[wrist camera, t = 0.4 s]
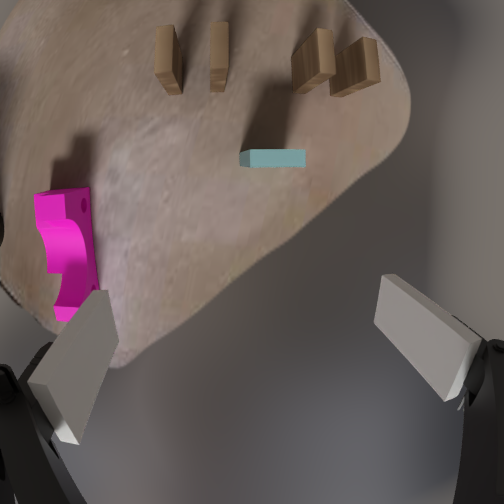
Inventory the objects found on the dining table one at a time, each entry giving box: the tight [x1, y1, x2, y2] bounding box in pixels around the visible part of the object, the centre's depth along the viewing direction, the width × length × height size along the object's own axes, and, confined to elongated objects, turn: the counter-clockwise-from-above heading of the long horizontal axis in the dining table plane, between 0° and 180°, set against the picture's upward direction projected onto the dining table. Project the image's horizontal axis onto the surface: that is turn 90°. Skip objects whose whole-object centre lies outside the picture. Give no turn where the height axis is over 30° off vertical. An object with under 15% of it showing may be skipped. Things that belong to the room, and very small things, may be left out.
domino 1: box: [154, 25, 183, 95], centre depth 26 cm, size 2×5×10 cm, turn 2°
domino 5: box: [329, 37, 381, 97], centre depth 28 cm, size 2×5×10 cm, turn 1°
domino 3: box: [240, 149, 306, 168], centre depth 30 cm, size 2×5×10 cm, turn 91°
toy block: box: [34, 187, 99, 322], centre depth 31 cm, size 15×6×8 cm, turn 178°
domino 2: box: [210, 22, 229, 92], centre depth 26 cm, size 2×5×10 cm, turn 1°
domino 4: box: [291, 28, 336, 94], centre depth 28 cm, size 2×5×10 cm, turn 1°
